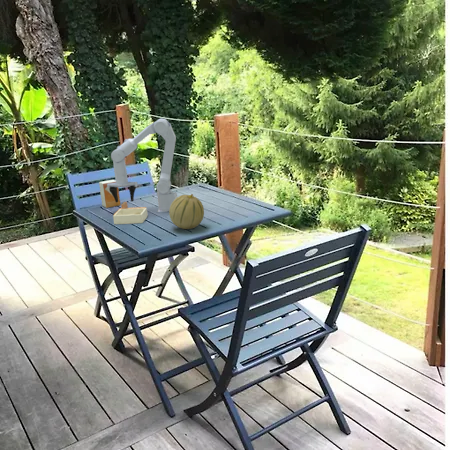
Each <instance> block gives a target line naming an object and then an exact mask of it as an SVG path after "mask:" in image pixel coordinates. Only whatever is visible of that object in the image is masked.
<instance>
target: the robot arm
mask: <svg viewBox="0 0 450 450" xmlns="http://www.w3.org/2000/svg"><path fill="white" fill-rule="evenodd" d="M154 134H158V135H159V136H161V137H162V138H163V140H164V141H165V143H164V150H163V157H162V161H161V169H160V175H159V179H158V182H157V183H156V186H155V188H156V191H157V192H156V193H157V202H158V203H157V204H158V210H157V211H156V213H157V212H158V213H159V212H160V213H161V212H162V213H163V212H169V209H170V206H171V204H172V202H173V201H174V200H175V199H176V198H177V197H178V193H177V192H175V191H172V189H171V187H172V181H171V174H172V173H171V172H172V166H173V160H174V155H175V154H174V153H175V146H176V140H177V136H176V133H175V132H174V129H173V127H172V125H171V123H170V122H169V121H168V120H167V119H166V118H162V117H161V118H158V119H157V120H156V121H154V122H152V123H151V124H149V125H148V126H146V127H145V128H143V130H141V131H140V132H139V133H137V135H136V136H135V137H133V138H125V139H124V141H123V143H122V144H119V145H118V146H117V147H116V149H114V150H113V151H112V152H111V153H110V158H111V160H112V162H113V170H114V171H113V172H114V178H115V179H114V180H116V183H108V184H107V188H110V189H109V190H110V192H111V193H112V195H113V197H114V199H115V201H116V202H118V195H117V187H118V188H128V191H129V195H130V201H131V202H135V201H134V198H135V197H134V196H135V192H136V188H137V187H138V185H139V184H138V181H129V179H128V172H127V165H126V160H125V159H126V157H128V156H129V155H131V153H133V152H134V151H135V150H137V148H138V144H139V143H140V142H142V141H143V140H145V139H146V137H148V136H150V135H154Z"/></svg>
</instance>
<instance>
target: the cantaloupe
mask: <svg viewBox="0 0 450 450" xmlns="http://www.w3.org/2000/svg"><path fill="white" fill-rule="evenodd" d="M204 209H205V208H204V205H203V203H202V201H201V200H200V199H199V198H198V197H197V196H195V195H194V194H193V193H192V194H182V195H180V196H177V198H176V199H175V200H174V201H173V202H172V204H171V206H170V209H169V211H168V212H169V213H168V215H169V217H170V220H171V223H173V225H175V226H177V228H180V229H182V230H191V229H194V228H196V227H198V226H199V225H200V224H201V223H202V221H203V219H204V217H205V216H204V215H205V210H204Z"/></svg>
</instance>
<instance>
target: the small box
mask: <svg viewBox="0 0 450 450" xmlns="http://www.w3.org/2000/svg"><path fill="white" fill-rule="evenodd" d="M108 183H116V179H110V180H109V179H108V180H104V181H99V182H98V186H99V193H100V200H101V205H102V207H104V208H106V209H107V208H113V207H118V206H121V198H120V189H119V187H117V195H118V202H116V201H115V199H114V197H113V195H112V193H111V192H110V190H109V189H110V188H107V184H108Z"/></svg>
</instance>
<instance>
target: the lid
mask: <svg viewBox="0 0 450 450" xmlns="http://www.w3.org/2000/svg"><path fill="white" fill-rule="evenodd" d="M120 206H121V207H120V208H118V210H117V211H115V212H114V214H113V216H114V215H115V214H116V213H117V212H118V211H119V210H120V209H136V208H147V206H140V207H139V206H137V207H128V206H129V205H128V202H127V201H123V202H122V203H120ZM113 216H112V217H113Z"/></svg>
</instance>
